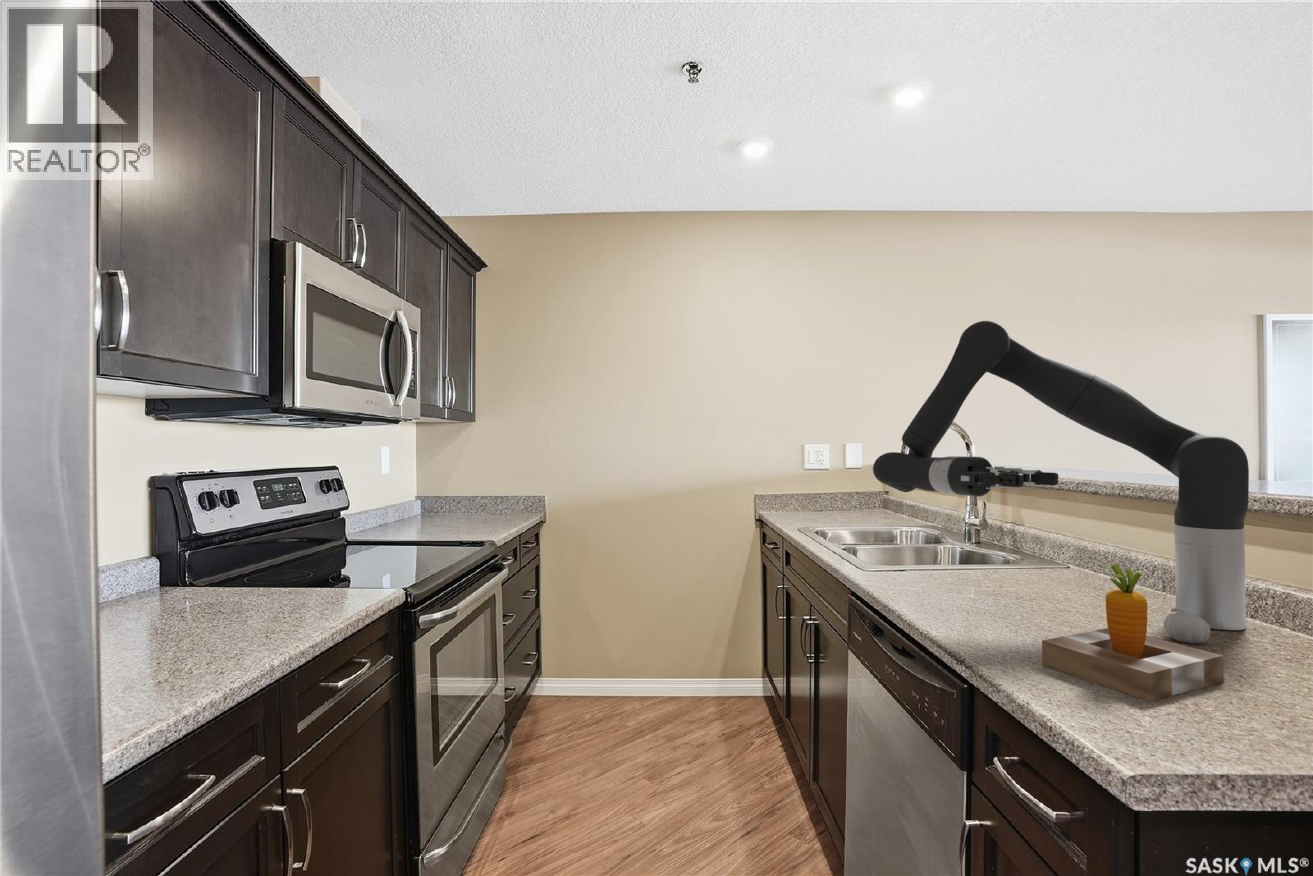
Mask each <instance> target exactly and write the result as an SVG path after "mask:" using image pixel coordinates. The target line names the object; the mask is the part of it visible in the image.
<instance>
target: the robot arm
mask: <svg viewBox="0 0 1313 876" xmlns="http://www.w3.org/2000/svg"><path fill="white" fill-rule="evenodd" d="M986 373H988V374H991V375H994V376H996V377H998V378H1001V379H1003V380H1005V381H1008V382H1009V383H1011V384H1014V385H1015V386H1017V387H1019V388H1020V389H1022V390H1023V391H1025V392H1026V393H1028V394H1029V395H1031V396H1032V397H1033V398H1035V399H1037V400H1038V401H1039V402H1041V403H1042V404H1044V405H1046V406H1047V407H1048V408H1050V409H1052V410H1054V411H1055V412H1057V413H1058V414H1060V415H1062V416H1064V417H1066V418H1068V419H1069V420H1071V421H1072V422H1074V423H1077V424H1079V425H1081V426H1082V427H1085V428H1087V429H1089V430H1090V431H1093V432H1095V433H1097V434H1099V435H1101V436H1103V437H1106V438H1108V439H1110V440H1112V441H1116V442H1118V443H1121V444H1122V445H1125V446H1127V447H1129V448H1131V449H1134V450H1135V451H1137V452H1139V453H1140V454H1142V455H1144V456H1145V457H1147V458H1149V459H1150V460H1152V461H1153V462H1155V463H1157V464H1158V465H1159V466H1161V467H1162V468H1164V469H1165V470H1166V471H1168V472H1170V473H1171V474H1173V476H1175V477H1177V478H1178V499H1177V504H1176V507H1175V509H1174V512H1173V514H1174V516H1173V517H1174V563H1175V564H1174V566H1175V568H1174V569H1175V574H1174V575H1175V576H1174V577H1175V608H1180V609H1183V610H1184V611H1186V613H1187V614H1192V615H1195V616H1198V617H1200V618H1202V619H1203V620H1204V621H1205V622H1206V623H1207V624H1208V625H1209V627H1210V629H1213V630H1223V631H1242V630H1245V629H1247V625H1246V624H1247V620H1246V619H1247V609H1246V607H1247V603H1246V560H1245V559H1246V558H1245V557H1246V556H1245V555H1246V553H1245V552H1246V550H1245V547H1246V546H1245V519H1246V515H1247V514H1248V513H1247V512H1248V510H1249V490H1250V489H1249V487H1250V483H1249V482H1250V481H1249V480H1250V479H1249V477H1250V467H1249V461H1248V457H1247V454H1246V452H1245V450H1244V449H1243V448H1242V447H1241V446H1240V444H1239V443H1237V442H1236V441H1234V440H1232V439H1230V438H1227V437H1224V436H1219V435H1205V434H1202V433H1200V432H1196V431H1194V430H1191V429H1188V428H1186V427H1184V426H1181V425H1180V424H1177V423H1174V422H1172V421H1170V420H1168V419H1167V418H1164V417H1162V416H1160V415H1159V414H1157V413H1156V412H1155V411H1153V410H1151V409H1150V408H1149V407H1148V406H1146V405H1145V404H1144V403H1142V402H1141V401H1140V400H1139V399H1137V398H1135V397H1134V396H1133V395H1132V394H1130V393H1129V392H1127V391H1125V390H1124V389H1122V388H1120V386H1118V385H1116V384H1114V383H1112V382H1110V381H1108V380H1107V379H1104V378H1102V377H1100V376H1098V375H1095V374H1094V373H1092V372H1089V371H1087V370H1085V369H1083V368H1079V367H1077V366H1075V365H1072V364H1069V363H1066V362H1062V361H1060V360H1056V359H1054V358H1053V359H1052V358H1050V357H1047V356H1044V355H1042V354H1039V353H1037V352H1036V351H1034V350H1032V349H1031V348H1028V347H1027V346H1025V345H1024V344H1021V342H1018V341H1017V340H1015V339H1014V338H1012V337H1011V336H1009V333H1008V331H1007V330H1006V329H1005V327H1004V326H1002V325H1001V324H1000V323H998V322H996V321H994V320H993V321H991V320H981V321H976V322H974V323H972V324H971V325H969V326H968V327H966V328H965V329H964V331H963V332H962V334H961V335H960V338H959V342H958V344H957V347H956V349H955V351H954V353H953V355H952V358H951V360H950V362H949V363H948V365H947V367H946V369H945V371H944V373H943V374H942V376H941V378H940V379H939V381H938V383H937V384H936V386H935V387H934V389H933V390H932V391H931V393H930V395H929V396H928V397H927V398H926V400H925V402H924V403H923V404H922V405H921V407H920V409H918V411H917V413H916V415H915V416H914V417H913V418H912V420H911V422H910V423H909V425H908V426H907V427H906V429H905V431H904V432H903V433H902V436H901V441H902V443H903V444H904V445H905V446H906V447H907V448H908V453H903V452H897V451H896V452H894V451H892V452H891V451H889V452H886V453H883V454H881V455H880V456H878V457H877V458H876V459H875V461H874V463H873V466H872V474H873V475H874V477H875V478H876V480H877V481H878V482H880V483H882V484H884V485H886V486H888V487H891V488H892V489H895V490H897V491H899V492H901V493H910V492H913V491H914V490H915V489H919V490H922V491H925V492H934V493H935V492H936V493H942V494H943V493H944V494H948V495H956V496H966V497H976V498H978V497H983V496H986V495H987V494H988V493H989V492H990V491H991V489H992V490H993V489H1005V488H1023V487H1024V486H1026V485H1028V486H1029V485H1031V486H1058V485H1059V473H1057V472H1051V471H1050V472H1048V471H1047V472H1045V471H1042V470H1040V469H1035V470H1034V469H1033V470H1030V469H1029V470H1028V469H1023V468H1022V467H1021V468H1020V467H1005V466H994V467H993V466H992V464H991V463H990V461H989V460H988V459H986V458H985V457H982V456H962V455H961V456H960V455H959V456H956V455H955V456H952V455H951V456H949V455H948V456H943V457H940V456H939V457H938V456H937V457H933V456H932V455H933V452H934V451H935V449H936V448H937V446H938V444H939V443H940V442H941V440H942V439H943V437H944V436H945V435H946V434H947V432H948V430H949V429H950V427H951V426H952V424H953V422H954V421H955V418H956V417H957V415H958V413H959V411H960V410H961V408H962V406H963V404H964V402H965V401H966V399H967V397H968V396H969V395H970V394H971V391H972V390H974V389H973V388H974V387H975V386H976V384H977V383H979V381H980V380H981V379H982V377H983V376H984V375H985V374H986ZM1175 613H1182V612H1175Z"/></svg>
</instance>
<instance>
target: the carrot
mask: <svg viewBox="0 0 1313 876" xmlns="http://www.w3.org/2000/svg"><path fill="white" fill-rule="evenodd" d="M1110 568H1111V569H1112V571H1113V572H1114V574H1115V575H1114V576H1115V577H1116V578H1115V577H1110V578H1109V580H1110V581H1111V582H1112V583H1113V584H1114V585H1115V586H1117V588H1119V589H1113V590H1109V591H1108V592H1106V594H1105V598H1104V599H1105V613H1106V614H1105V615H1106V624H1107V628H1108V631H1109V636H1110V640H1111V644H1112V648H1113V651H1114V652H1118V653H1121V654H1125V655H1128V656H1131V657H1135V658H1138V659H1140V657H1141V655H1142V653H1143V649H1144V644H1145V639H1146V636H1147V631H1148V602H1147V599H1146V596H1144V595H1143V594H1142V593H1139V592H1137V591H1134V588H1135V587H1136V584H1137V583H1138V581H1139V580H1140V578H1141V576H1143V573H1142V572H1141V571H1140V570H1139V571H1136V572H1135V573H1134V571H1133V569H1130V568H1126V569H1125V574H1126V576H1125V574H1124V572H1123V570H1122V569H1121V566H1119V564H1118V563H1113V564H1112V565H1111V566H1110ZM1126 577H1127V579H1126Z"/></svg>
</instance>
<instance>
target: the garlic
mask: <svg viewBox="0 0 1313 876" xmlns="http://www.w3.org/2000/svg"><path fill="white" fill-rule="evenodd" d="M1170 612H1172V613H1171V614H1170V613H1169V614H1167V615H1166V617H1165V618H1164V621H1163V629H1164V631H1165V633H1166V634H1167V635H1168V636H1169V637H1171V638H1173V640H1175V641H1178V642H1180V643H1185V644H1202V643H1205V642H1207V641H1208V640H1209V639H1210V636H1211V628H1210V627H1209V625H1208V624H1207V623H1206V622H1205V621H1204V620H1203V619H1202V618H1200V617H1198V616H1195V615H1192V614H1187V613H1186V611H1184V610H1183V609H1180V608H1176V607H1175V608H1170ZM1176 612H1182V613H1176Z"/></svg>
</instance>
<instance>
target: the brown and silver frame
mask: <svg viewBox="0 0 1313 876" xmlns="http://www.w3.org/2000/svg"><path fill="white" fill-rule="evenodd" d="M1041 650H1042V651H1041V657H1042V658H1041V659H1042V660H1041V661H1042V663H1041V664H1042V665H1043V666H1046V667H1049V668H1051V669H1055V670H1058V671H1060V672H1063V673H1066V674H1068V675H1072V676H1074V677H1078V678H1081V679H1084V680H1086V681H1090V682H1092V683H1095V684H1098V685H1101V686H1104V687H1107V688H1110V689H1113V690H1116V691H1119V692H1121V693H1124V694H1127V695H1129V696H1133V697H1136V698H1138V699H1141V700H1145V701H1147V702H1154V701H1156V700H1160V699H1164V698H1168V697H1171V696H1172V697H1173V696H1176V695H1179V694H1183V693H1186V692H1190V691H1193V690H1198V689H1201V688H1205V687H1206V688H1207V687H1209V686H1212V685H1213V686H1214V685H1217V684H1220V683H1224V681H1225V680H1224V679H1225V677H1224V676H1225V674H1224V670H1225V669H1224V655H1223V654H1219V653H1214V652H1210V651H1207V650H1203V649H1199V648H1195V647H1191V646H1188V645H1187V646H1186V645H1183V644H1179V643H1176V642H1175V643H1174V642H1172V641H1168V640H1164V639H1160V638H1155V637H1151V636H1148V635H1146V639H1145V644H1144V649H1143V653H1142V655H1141V657H1140V659H1138V658H1135V657H1131V656H1128V655H1125V654H1121V653H1118V652H1114V651H1113V648H1112V644H1111V640H1110V636H1109V631H1108V627H1107V628H1102V629H1101V628H1100V629H1096V630H1091V631H1085V632H1080V633H1075V634H1070V635H1064V636H1060V637H1053V638H1047V639H1043V640H1041Z"/></svg>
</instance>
